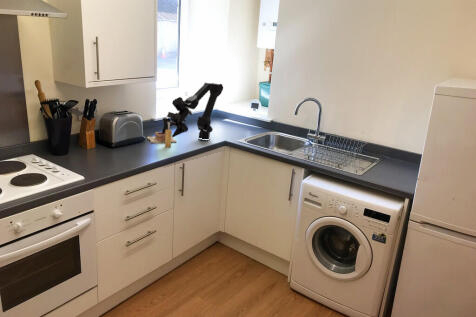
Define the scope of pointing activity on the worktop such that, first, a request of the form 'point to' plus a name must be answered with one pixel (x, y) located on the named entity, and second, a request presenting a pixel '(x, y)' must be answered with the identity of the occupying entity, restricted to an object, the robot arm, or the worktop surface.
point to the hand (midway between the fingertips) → (167, 135)
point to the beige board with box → (159, 138)
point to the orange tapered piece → (168, 136)
